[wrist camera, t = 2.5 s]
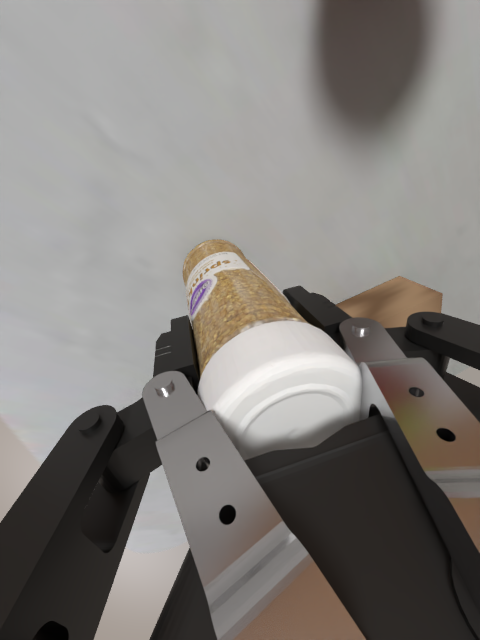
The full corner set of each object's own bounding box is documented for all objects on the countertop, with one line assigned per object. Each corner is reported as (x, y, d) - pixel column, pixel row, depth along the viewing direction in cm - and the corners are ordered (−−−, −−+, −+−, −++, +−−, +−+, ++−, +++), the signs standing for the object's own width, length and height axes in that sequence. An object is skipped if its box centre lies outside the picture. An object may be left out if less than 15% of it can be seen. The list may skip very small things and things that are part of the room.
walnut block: (399, 275, 22) (442, 293, 18) (401, 360, 27) (435, 386, 23) (291, 324, 22) (315, 351, 18) (314, 400, 27) (335, 432, 23)
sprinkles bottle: (191, 229, 16) (240, 345, 5) (256, 249, 18) (412, 372, 6) (175, 295, 18) (183, 497, 6) (236, 307, 20) (329, 488, 8)
